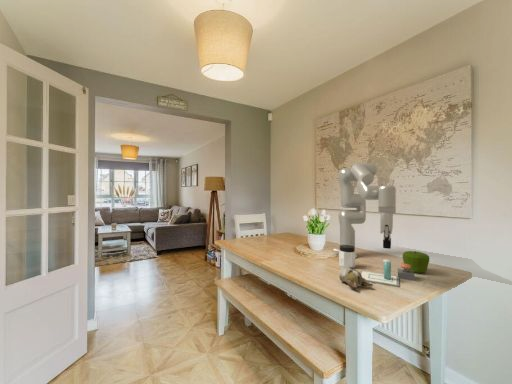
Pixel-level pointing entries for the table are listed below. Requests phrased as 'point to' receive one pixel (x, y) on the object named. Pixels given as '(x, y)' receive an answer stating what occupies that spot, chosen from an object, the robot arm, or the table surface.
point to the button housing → (406, 274)
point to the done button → (406, 267)
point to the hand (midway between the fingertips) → (387, 246)
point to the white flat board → (380, 278)
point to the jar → (347, 256)
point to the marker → (387, 269)
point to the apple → (416, 261)
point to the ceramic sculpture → (352, 277)
